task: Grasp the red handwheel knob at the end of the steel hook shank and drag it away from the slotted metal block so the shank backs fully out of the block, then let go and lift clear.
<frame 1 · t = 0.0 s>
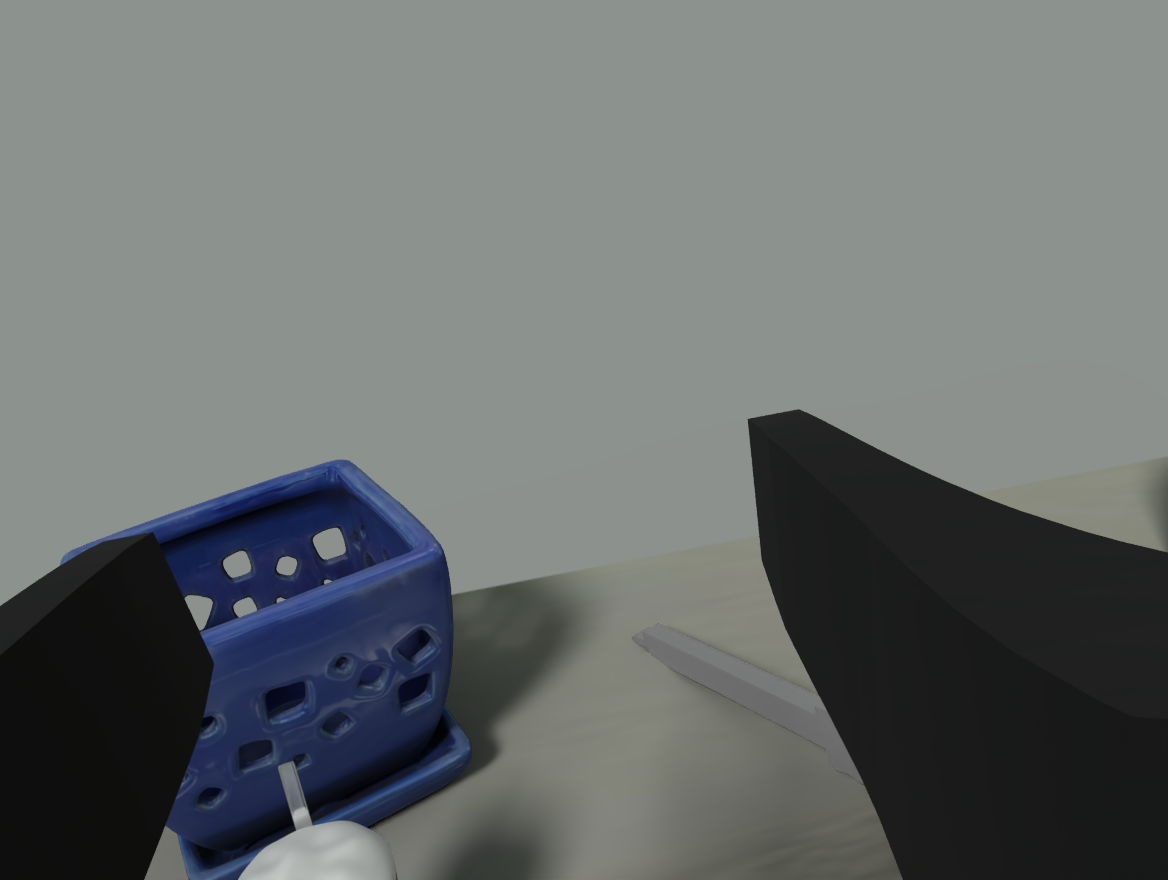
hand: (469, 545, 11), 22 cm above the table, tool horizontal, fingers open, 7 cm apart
flower pot: (321, 779, 41), on the table
caliper: (780, 747, 38), on the table
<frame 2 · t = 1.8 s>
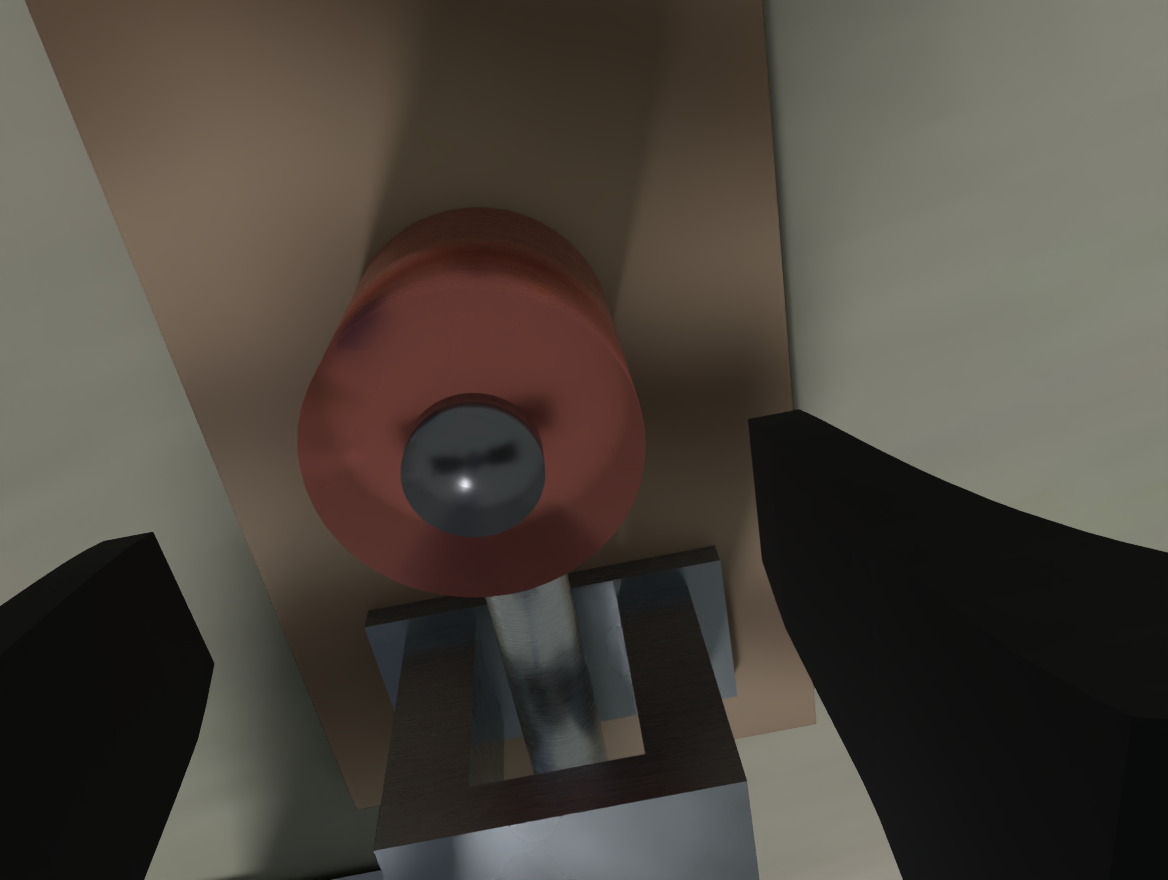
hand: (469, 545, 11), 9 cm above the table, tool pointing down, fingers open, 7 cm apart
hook: (534, 619, 17), point 4 cm above the table, slide at 0.0 cm
slotted metal block: (557, 646, 22), resting on board
board: (499, 384, 19), on the table
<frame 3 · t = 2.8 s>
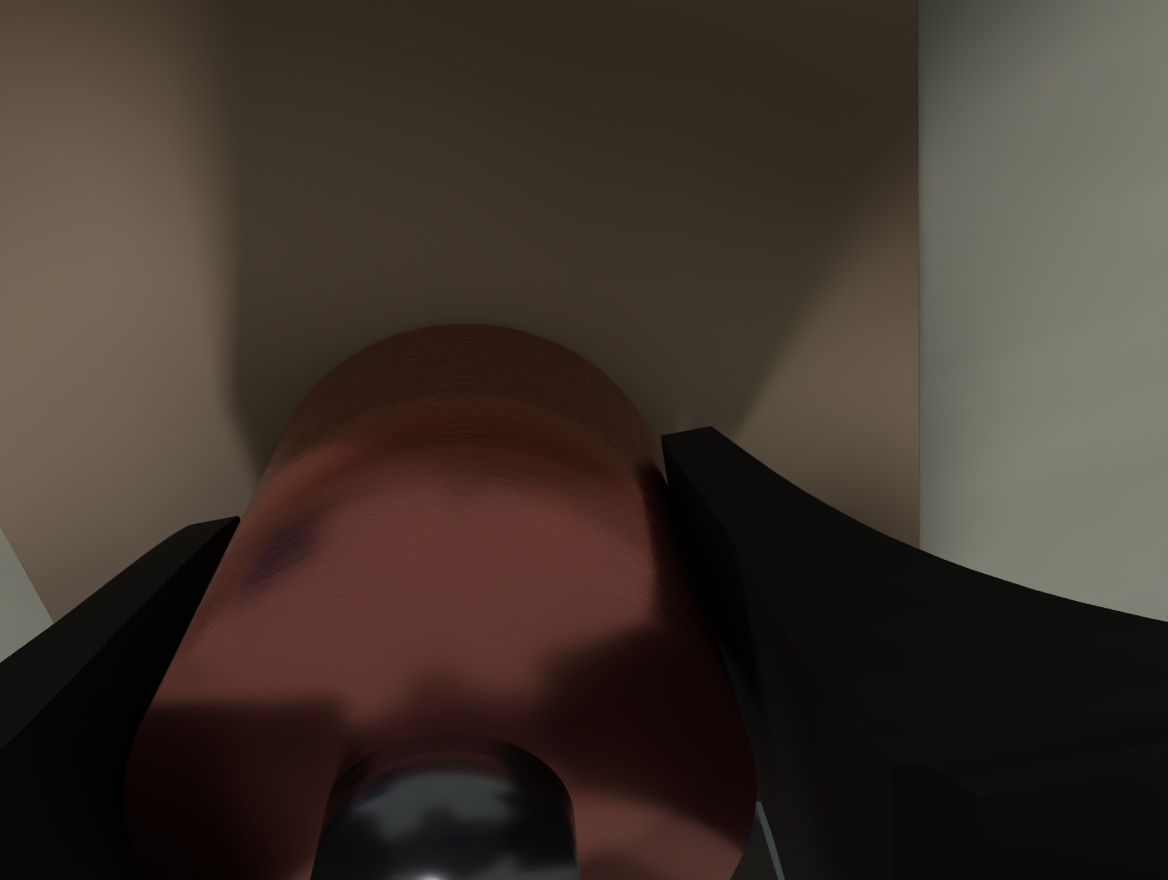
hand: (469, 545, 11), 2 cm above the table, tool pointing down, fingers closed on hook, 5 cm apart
board: (497, 554, 13), on the table
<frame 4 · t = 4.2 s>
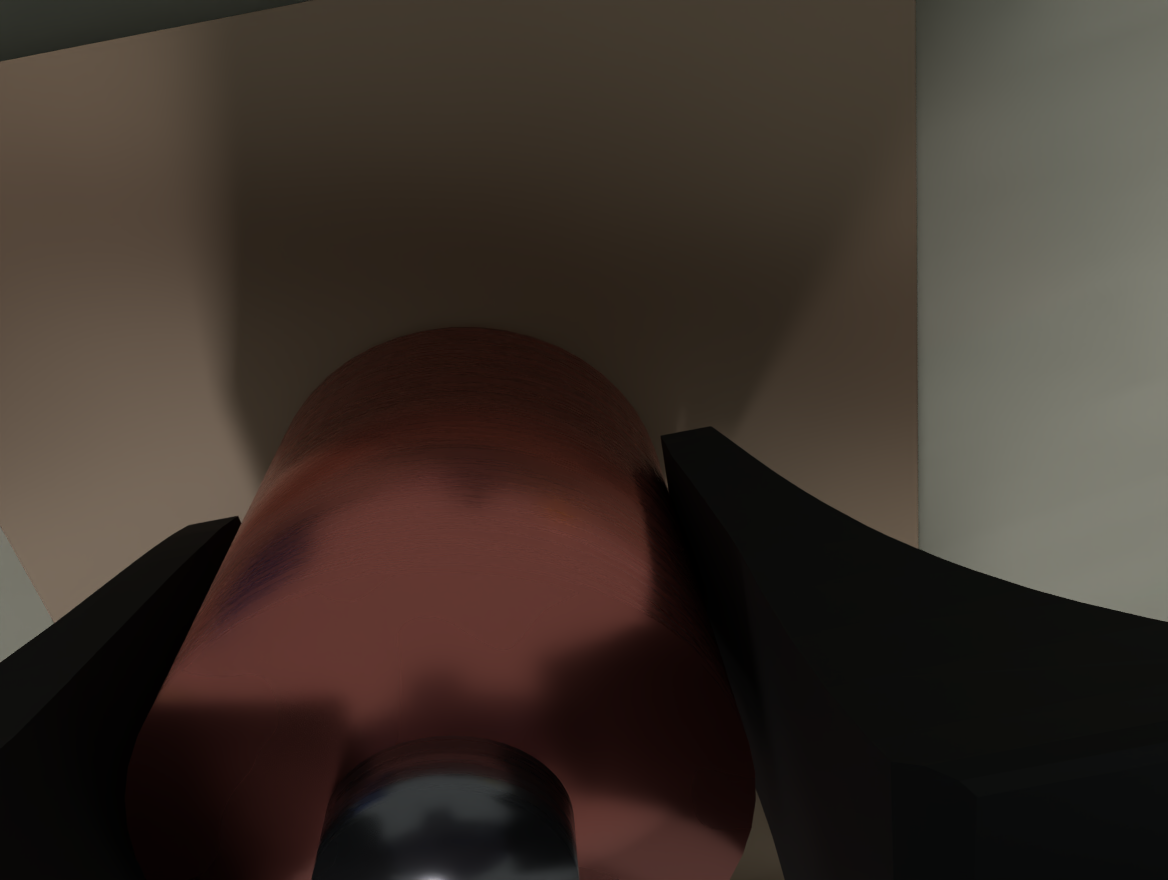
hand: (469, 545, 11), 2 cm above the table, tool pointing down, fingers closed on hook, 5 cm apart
board: (535, 702, 15), on the table
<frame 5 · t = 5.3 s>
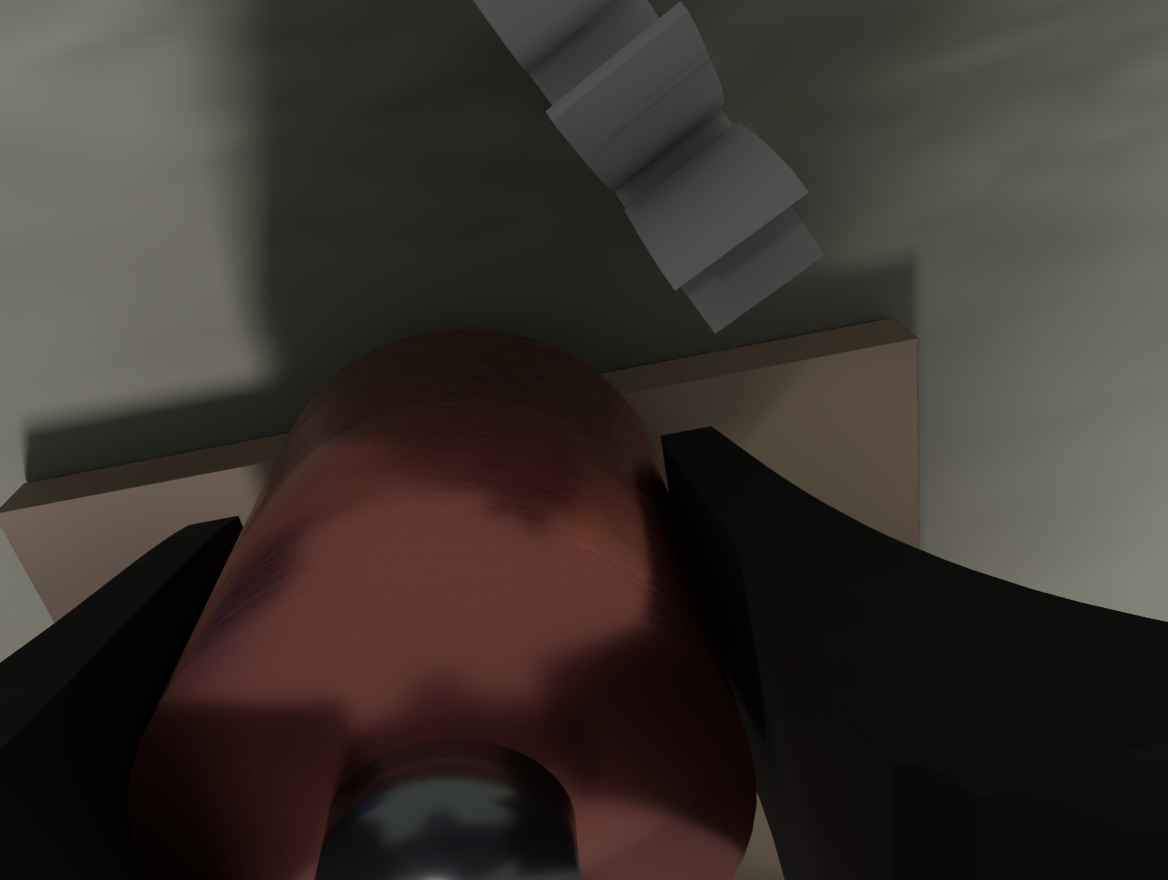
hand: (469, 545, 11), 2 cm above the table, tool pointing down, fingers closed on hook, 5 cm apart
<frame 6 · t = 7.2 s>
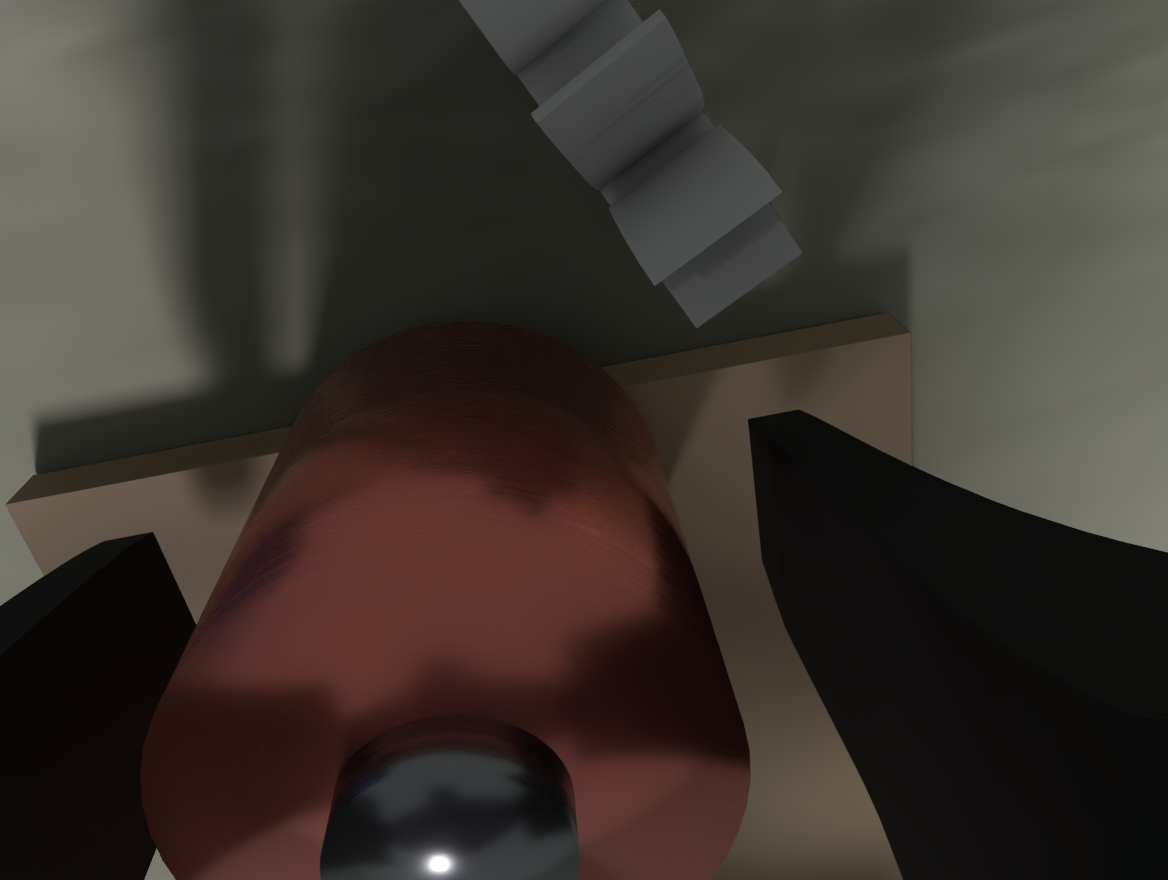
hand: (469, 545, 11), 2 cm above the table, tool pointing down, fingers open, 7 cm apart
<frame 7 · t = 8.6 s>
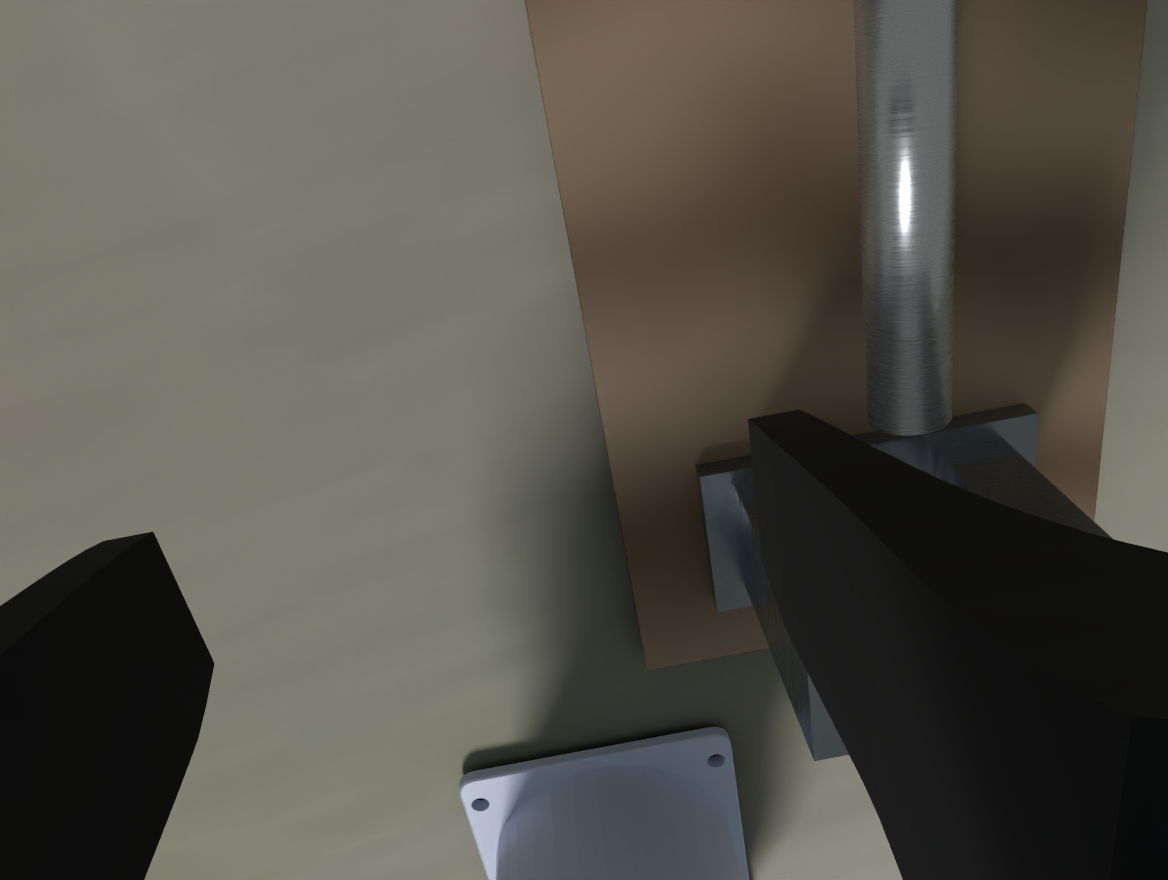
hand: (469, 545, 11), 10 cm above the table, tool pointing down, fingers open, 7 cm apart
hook: (907, 24, 15), point 4 cm above the table, slide at 7.9 cm
slotted metal block: (862, 504, 23), resting on board
board: (840, 242, 20), on the table
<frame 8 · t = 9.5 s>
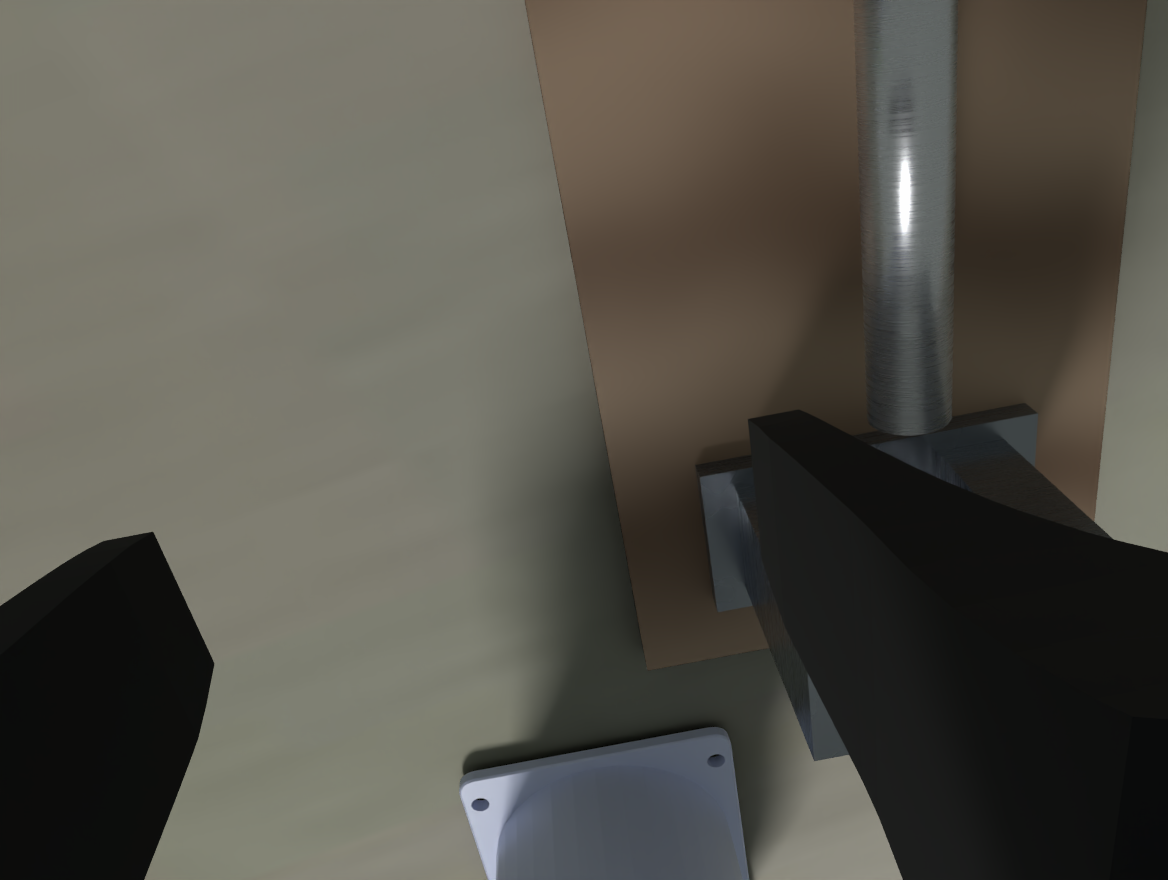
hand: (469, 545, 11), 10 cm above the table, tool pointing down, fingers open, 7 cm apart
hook: (907, 24, 15), point 4 cm above the table, slide at 7.9 cm
slotted metal block: (862, 504, 23), resting on board
board: (840, 242, 20), on the table
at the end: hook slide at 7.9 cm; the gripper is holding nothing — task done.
